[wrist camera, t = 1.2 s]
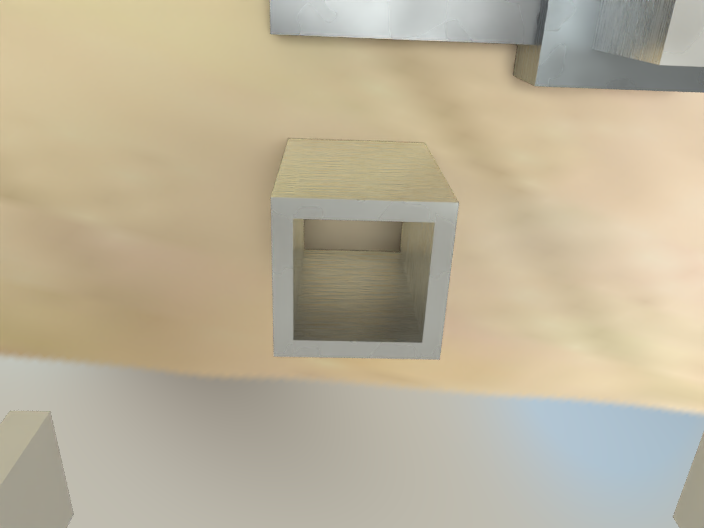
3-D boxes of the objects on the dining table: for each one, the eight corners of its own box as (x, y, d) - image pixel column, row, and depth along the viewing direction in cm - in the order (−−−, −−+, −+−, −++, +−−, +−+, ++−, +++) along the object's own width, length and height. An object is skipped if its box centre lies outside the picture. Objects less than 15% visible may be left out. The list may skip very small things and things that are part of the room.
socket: (289, 262, 28) (273, 356, 21) (288, 138, 26) (270, 197, 19) (413, 265, 29) (439, 359, 21) (424, 142, 26) (459, 202, 19)
